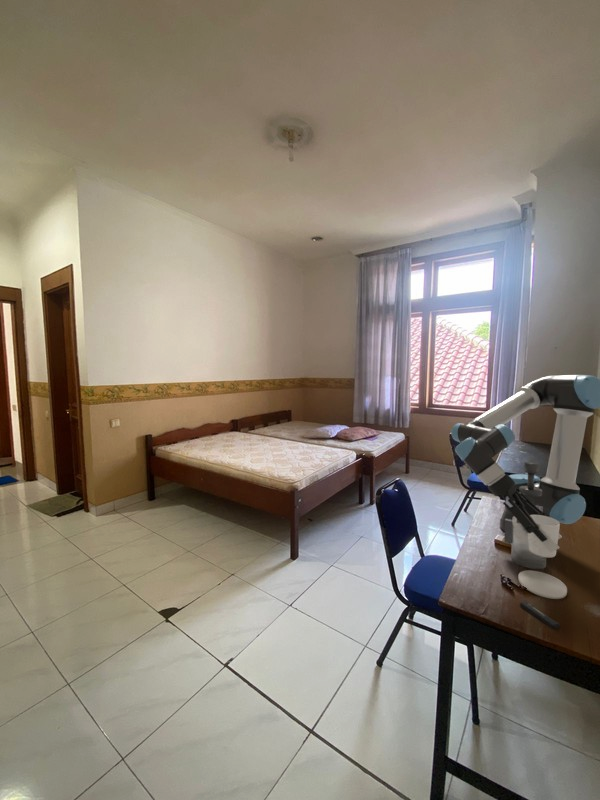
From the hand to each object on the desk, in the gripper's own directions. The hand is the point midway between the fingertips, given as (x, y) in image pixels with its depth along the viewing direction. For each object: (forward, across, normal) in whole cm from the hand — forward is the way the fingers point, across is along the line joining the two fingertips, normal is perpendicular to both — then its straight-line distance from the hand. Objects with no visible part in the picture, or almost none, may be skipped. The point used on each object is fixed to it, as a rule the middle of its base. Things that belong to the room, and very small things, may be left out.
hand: (556, 544), depth 98 cm
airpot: (+4, -14, -16) cm, 22 cm away
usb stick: (+9, +16, -12) cm, 22 cm away
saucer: (+8, 0, -12) cm, 15 cm away
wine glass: (-9, -14, -3) cm, 17 cm away
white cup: (0, 0, -5) cm, 5 cm away
